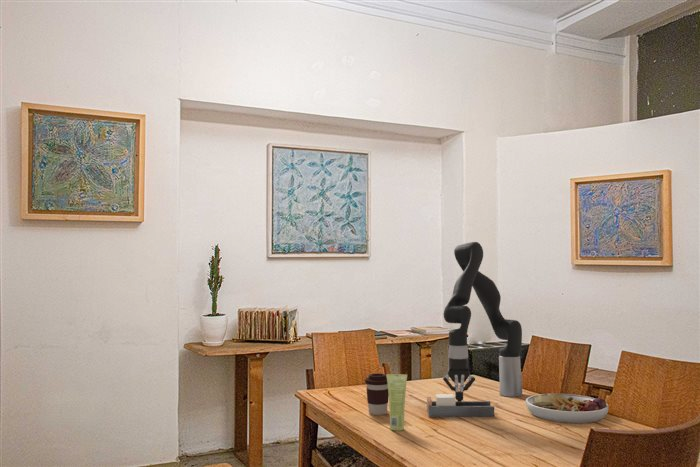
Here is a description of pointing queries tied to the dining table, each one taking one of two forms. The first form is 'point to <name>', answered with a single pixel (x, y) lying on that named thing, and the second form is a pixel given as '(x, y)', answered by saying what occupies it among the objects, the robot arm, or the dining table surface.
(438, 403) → the block
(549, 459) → the dining table surface
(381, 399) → the coffee cup
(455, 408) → the chute
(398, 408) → the tube
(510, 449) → the dining table surface
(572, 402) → the bowl
